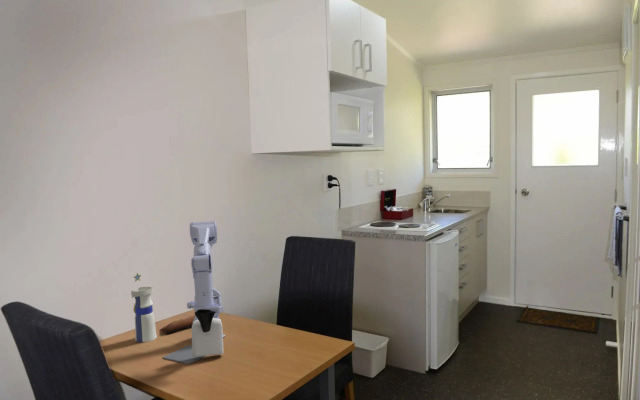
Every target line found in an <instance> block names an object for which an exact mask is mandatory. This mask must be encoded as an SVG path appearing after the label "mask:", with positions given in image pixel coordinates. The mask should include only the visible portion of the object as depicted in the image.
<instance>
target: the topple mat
mask: <svg viewBox="0 0 640 400" xmlns="http://www.w3.org/2000/svg"><path fill="white" fill-rule="evenodd" d="M205 357H206V356H199V357H192V344H191V345H190V344H189V345H186V346H184V347H181V348H180V349H177V350H175V351H173V352H171V353H169V354H166V355H164V356H163V357H162V359H164V360H168V361H171V362H177V363H182V364H186V365H191V364H193V363H195V362H197V361H199V360H200V359H203V358H205Z"/></svg>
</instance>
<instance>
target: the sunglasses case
mask: <svg viewBox="0 0 640 400" xmlns="http://www.w3.org/2000/svg"><path fill="white" fill-rule="evenodd" d="M194 318H195V315H191V316H188V317H186V318H180V319H178V320H173V321H170V323H168V324H166V325H165V326H163V327H162V328H160V329H159V332H161V333H163V334H165V335H168V334H172V333H174V332H175V333H176V332H177V331H181V330H183V329H187V328H190V327H191V328H192V325H193V321H194Z"/></svg>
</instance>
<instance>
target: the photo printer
mask: <svg viewBox="0 0 640 400" xmlns="http://www.w3.org/2000/svg"><path fill="white" fill-rule="evenodd" d="M223 330H224V329H223V323H222V319H221V318H219V319H217V318H213V319H212V323H211V328H210V331H209V332H206V333H205V332H203V330H202V327H201V325H200V322H199V320H196V321H194V322H193V325H192V326H191V346H192V357H199V356H205V357H207V356H215V355H223V354H224V337H223V335H224V332H223Z"/></svg>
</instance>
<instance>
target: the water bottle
mask: <svg viewBox="0 0 640 400" xmlns="http://www.w3.org/2000/svg"><path fill="white" fill-rule="evenodd" d="M141 277H142V274H139V273H138V272H136V274H135V275H134V276H133V278H134V282H137V281H141V279H140V278H141ZM130 292H131V293H130V295H131V298H132V299H133V298H134V301H135V302H134V304H133V313H134V330H135V332H134V336H135V337H134V338H135V342H136V341H137V342H138V343H146V342H151V341H154V340H156V339H157V338H158V336H157V328H156V319H155V318H156V317H155V313H154V311H153V305H154V302H153V301H152V294H153V293H154V292H155V290H154V288H153V287H151V286H140V287H138V288H137V291H133V290H131V291H130Z"/></svg>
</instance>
